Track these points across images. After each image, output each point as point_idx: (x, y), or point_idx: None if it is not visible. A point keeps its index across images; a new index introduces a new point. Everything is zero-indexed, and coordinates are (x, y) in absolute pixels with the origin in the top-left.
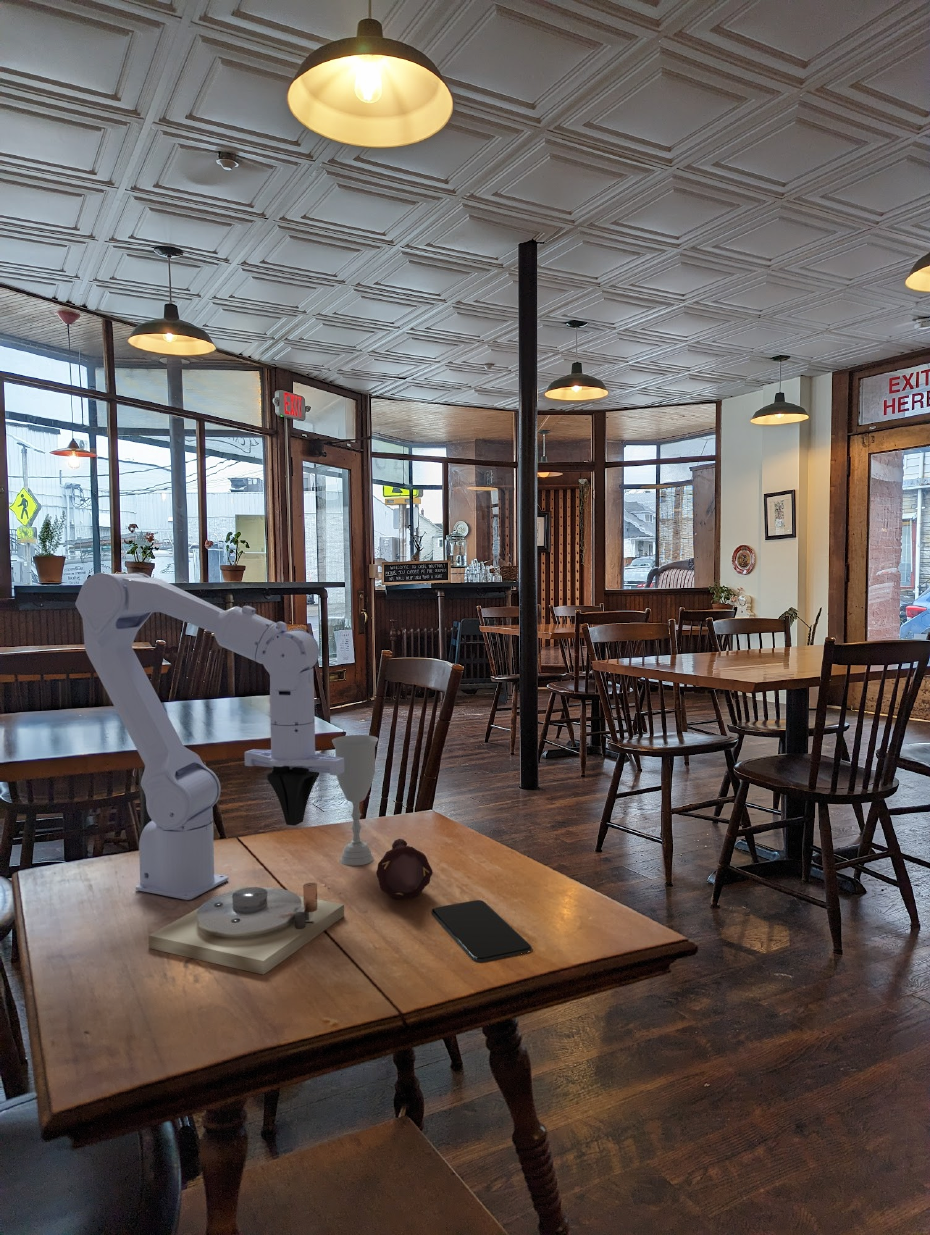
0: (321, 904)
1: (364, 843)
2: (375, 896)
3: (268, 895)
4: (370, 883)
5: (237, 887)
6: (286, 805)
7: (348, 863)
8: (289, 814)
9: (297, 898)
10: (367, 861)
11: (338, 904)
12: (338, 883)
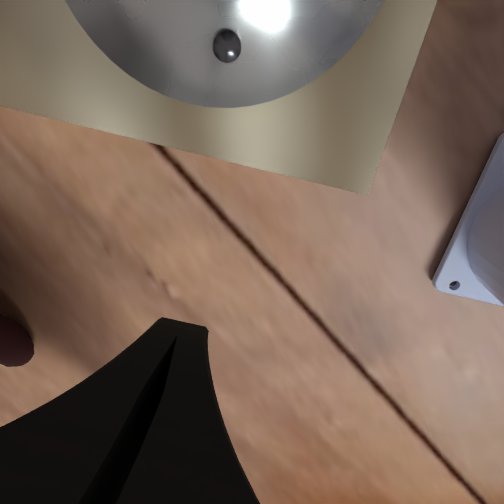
0: (61, 92)
1: None
2: (12, 241)
3: (201, 31)
4: (64, 312)
5: (369, 179)
6: (168, 380)
7: None
8: (163, 344)
9: (91, 25)
10: None
11: (14, 102)
12: (139, 303)
